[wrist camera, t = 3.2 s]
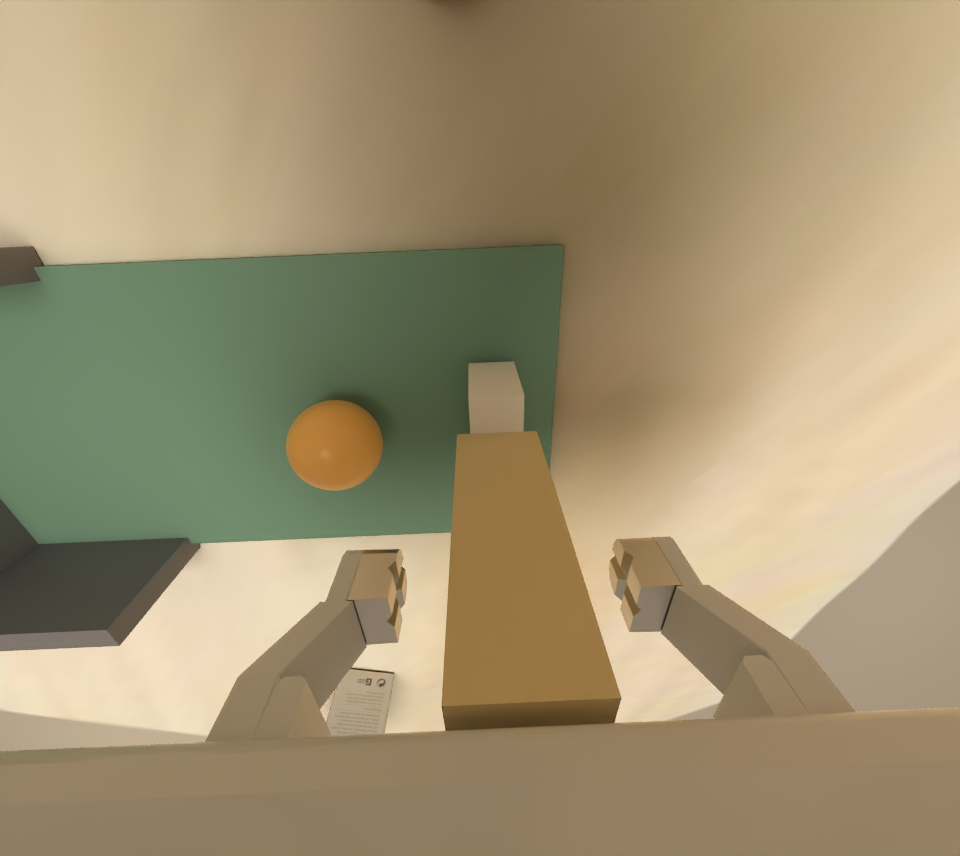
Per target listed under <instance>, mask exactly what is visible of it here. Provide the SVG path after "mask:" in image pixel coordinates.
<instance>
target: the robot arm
mask: <svg viewBox="0 0 960 856" xmlns="http://www.w3.org/2000/svg"><path fill="white" fill-rule="evenodd" d="M613 551H614V554H615V557H613V558H612V559H611V560H610V566H609V574H610V581H611V585H612V588H613V591H614V594H615V595H616V596H617V597H618V598H620V599H621V600H622V604H621V612H622V614H623V617H624V619H625V622H626V625H627V627H628V630H629V632H655V631H662V632H661V633H662V634H663V635H664V636H665V637H666V638H667V639H668V640H669V641H670V642H671V643H672V644H673V645H674V646H675V647H676V648H677V649H678V650H679V651H680V652H681V653H682V654H683V655H684V656H685V657H686V658H687V659H688V660H689V661H690V662H691V663H692V664H693V665H694V666H695V667H696V668H697V669H698V670H699V671H700V672H701V673H702V674H703V675H704V676H705V677H706V678H707V679H708V680H709V681H710V682H711V683H712V684H713V685H714V686H715V687H716V688H717V689H718V690H719V691H720V692H721V693H722V694H723V697H722V699H721V701H720V703H719V705H718V707H717V709H716V711H715V713H714V715H713V717H714V719H695V720H672V721H650V722H628V723H606V724H583V725H561V726H540V727H518V728H497V729H475V730H453V731H432V732H410V733H389V734H367V735H346V736H331V732H330V730H329V728H328V726H327V724H326V722H325V720H324V718H323V716H322V713H321V711H320V708H321V707H322V706H323V704H324V703H325V702H326V700H327V699H328V698H329V696H330V695H331V694H332V692H333V691H334V690H335V688H336V687H337V686H338V684H339V683H340V682H341V680H342V679H343V678H344V676H345V675H346V674H347V672H348V671H349V670H350V668H351V667H352V666H353V664H354V663H355V662H356V660H357V659H358V658H359V656H360V655H361V654H362V652H363V651H364V650H365V648H366V645H369V644H383V643H396V642H398V640H399V635H400V629H401V623H402V615H401V610H400V609H401V608H402V606H403V605H404V604H405V599H406V589H407V579H406V571H405V569H404V568H403V567H402V561H403V556H402V552H401V550H400V549H393V550H356V551H346V553H345V554H344V555H343V557H342V560H341V562H340V565H339V568H338V570H337V573H336V576H335V578H334V581H333V584H332V586H331V589H330V592H329V594H328V597H327V600H326V602H320V603H319V604H318V605H317V606H315V607H314V608H313V609H312V610H311V611H310V612H309V613H308V614H307V615H306V616H304V617H303V618H302V619H301V620H300V621H299V622H298V623H297V624H296V625H295V626H293V627H292V628H291V629H290V630H289V631H288V632H287V633H286V634H285V635H284V636H282V637H281V638H280V639H279V640H278V641H277V642H276V643H275V644H274V645H273V646H271V647H270V648H269V649H268V650H267V651H266V652H265V653H264V654H263V655H262V656H260V657H259V658H258V659H257V660H256V661H255V662H254V663H253V664H252V665H251V666H250V667H248V668H247V669H246V670H245V671H244V672H243V673H242V674H241V675H240V676H239V677H238V678H237V680H236V682H235V684H234V686H233V688H232V690H231V692H230V694H229V696H228V698H227V700H226V702H225V704H224V706H223V708H222V709H221V711H220V713H219V715H218V717H217V719H216V721H215V723H214V725H213V727H212V729H211V731H210V733H209V735H208V737H207V739H206V741H205V742H195V743H174V744H154V745H132V746H108V747H87V748H64V749H41V750H19V751H0V856H960V707H952V708H931V709H910V710H888V711H866V712H856V711H855V710H854V709H853V708H852V706H851V705H850V704H849V703H848V701H847V700H846V699H845V697H844V696H843V695H842V694H841V692H840V691H839V690H838V689H837V687H836V686H835V685H834V683H833V682H832V681H831V679H830V678H829V677H828V676H827V674H826V673H825V672H824V671H823V669H822V668H821V667H820V665H819V664H818V663H817V662H816V660H815V659H814V658H813V656H812V655H811V654H810V653H809V652H808V651H807V650H805V649H804V648H802V647H801V646H799V645H798V644H796V643H795V642H793V641H792V640H790V639H789V638H787V637H786V636H784V635H783V634H781V633H780V632H778V631H777V630H775V629H774V628H772V627H771V626H769V625H768V624H766V623H765V622H763V621H762V620H760V619H759V618H757V617H756V616H754V615H753V614H751V613H750V612H748V611H747V610H745V609H744V608H742V607H741V606H739V605H738V604H736V603H735V602H733V601H732V600H730V599H729V598H727V597H726V596H724V595H723V594H722V593H720V592H719V591H717V590H716V589H714V588H713V587H711V586H710V585H703V584H702V583H701V581H700V580H699V578H698V577H697V575H696V573H695V572H694V570H693V569H692V567H691V566H690V564H689V563H688V561H687V560H686V558H685V556H684V555H683V553H682V552H681V550H680V549H679V547H678V546H677V544H676V543H675V541H674V539H672V538H671V537H652V538H632V539H616V540H615V542H614V544H613Z"/></svg>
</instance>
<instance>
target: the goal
mask: <svg viewBox="0 0 960 856" xmlns="http://www.w3.org/2000/svg"><path fill="white" fill-rule="evenodd" d="M38 266H43V264H42V263H41V261H40V259H39V257H38V255H37V254H36V252H35V250H34V248H33V247H9V248H0V287H1V286H8V285H15V284H22V283H29V282H35V281H41V280H40V278H39V276H38V274H37V273H36V271H35V269H34V267H38ZM199 548H200V546H199V544H198V543H196V544H191V542H190V541H189V539H188V537H187V538H165V539H142V540H119V541H97V542H74V543H51V544H38V543H37V541H36V540H35V539H34V538H33V537H32V536H31V534H30V533H29V532H28V531H27V530H26V528H25V527H24V526H23V525H22V524H21V523H20V521H19V520H18V519H17V518H16V517H15V515H14V514H13V513H12V512H11V511H10V510H9V508H8V507H7V506H6V505H5V504H4V502H3V501H2V500H1V499H0V651H13V650H35V649H57V648H79V647H102V646H120V645H121V643H122V642H123V641H124V640H125V639H126V637H127V636H128V635H129V634H130V632H131V631H132V630H133V629H134V628H135V626H136V625H137V624H138V623H139V621H140V620H141V619H142V618H143V616H144V615H145V614H146V613H147V612H148V610H149V609H150V608H151V607H152V605H153V604H154V603H155V602H156V601H157V599H158V598H159V597H160V596H161V594H162V593H163V592H164V591H165V590H166V588H167V587H168V586H169V585H170V583H171V582H172V581H173V580H174V579H175V577H176V576H177V575H178V574H179V572H180V571H181V570H182V569H183V568H184V566H185V565H186V564H187V563H188V561H189V560H190V559H191V558H192V557H193V555H194V554H195V553H196V552H197V550H198V549H199Z"/></svg>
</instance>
